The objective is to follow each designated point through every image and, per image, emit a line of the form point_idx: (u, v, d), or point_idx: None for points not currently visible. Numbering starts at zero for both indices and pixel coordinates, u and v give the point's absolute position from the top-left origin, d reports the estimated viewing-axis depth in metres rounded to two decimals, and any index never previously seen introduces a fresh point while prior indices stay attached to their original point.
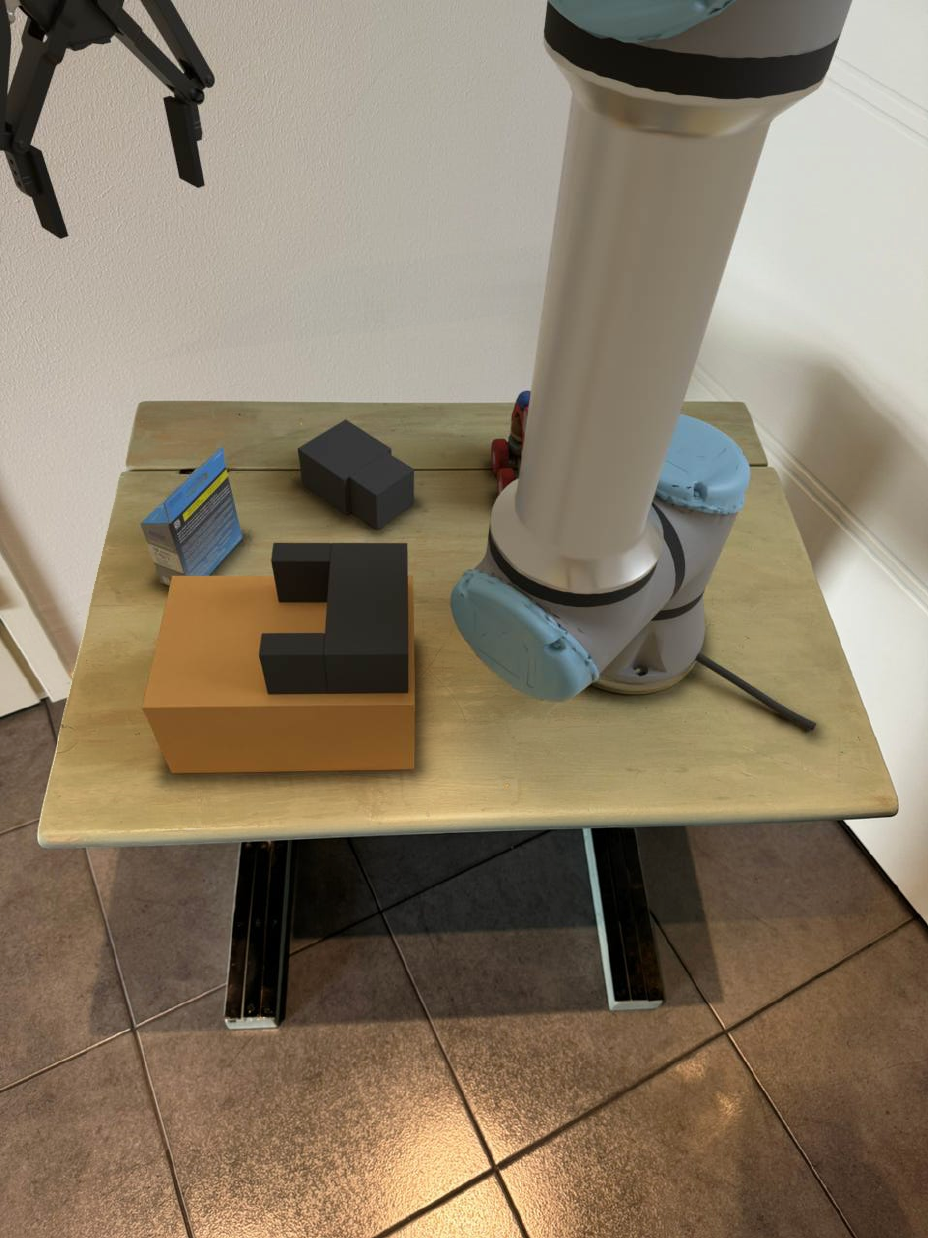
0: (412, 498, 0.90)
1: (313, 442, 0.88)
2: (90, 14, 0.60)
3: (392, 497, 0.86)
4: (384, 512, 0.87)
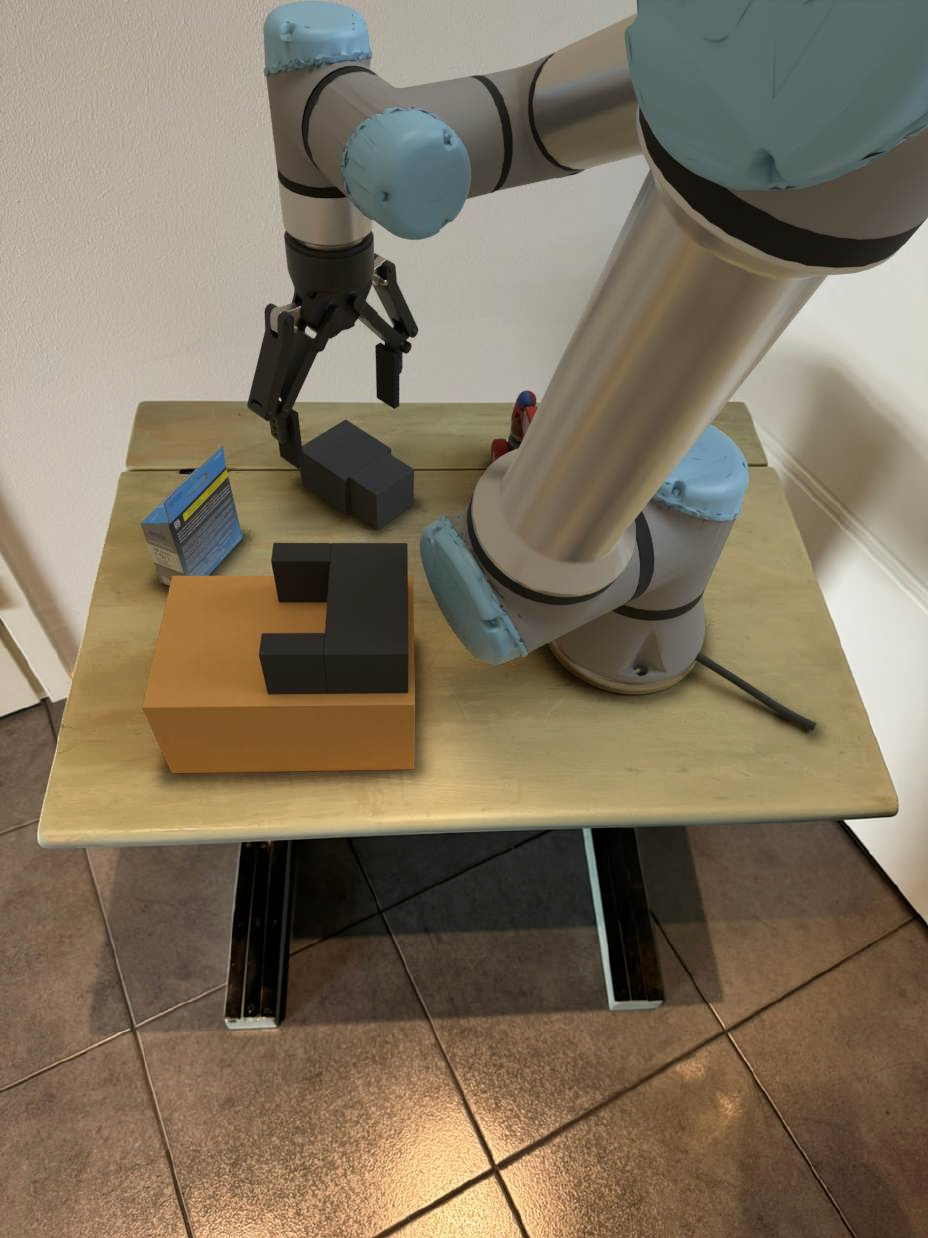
0: (412, 498, 0.90)
1: (313, 442, 0.88)
2: (345, 312, 0.76)
3: (392, 497, 0.86)
4: (384, 512, 0.87)
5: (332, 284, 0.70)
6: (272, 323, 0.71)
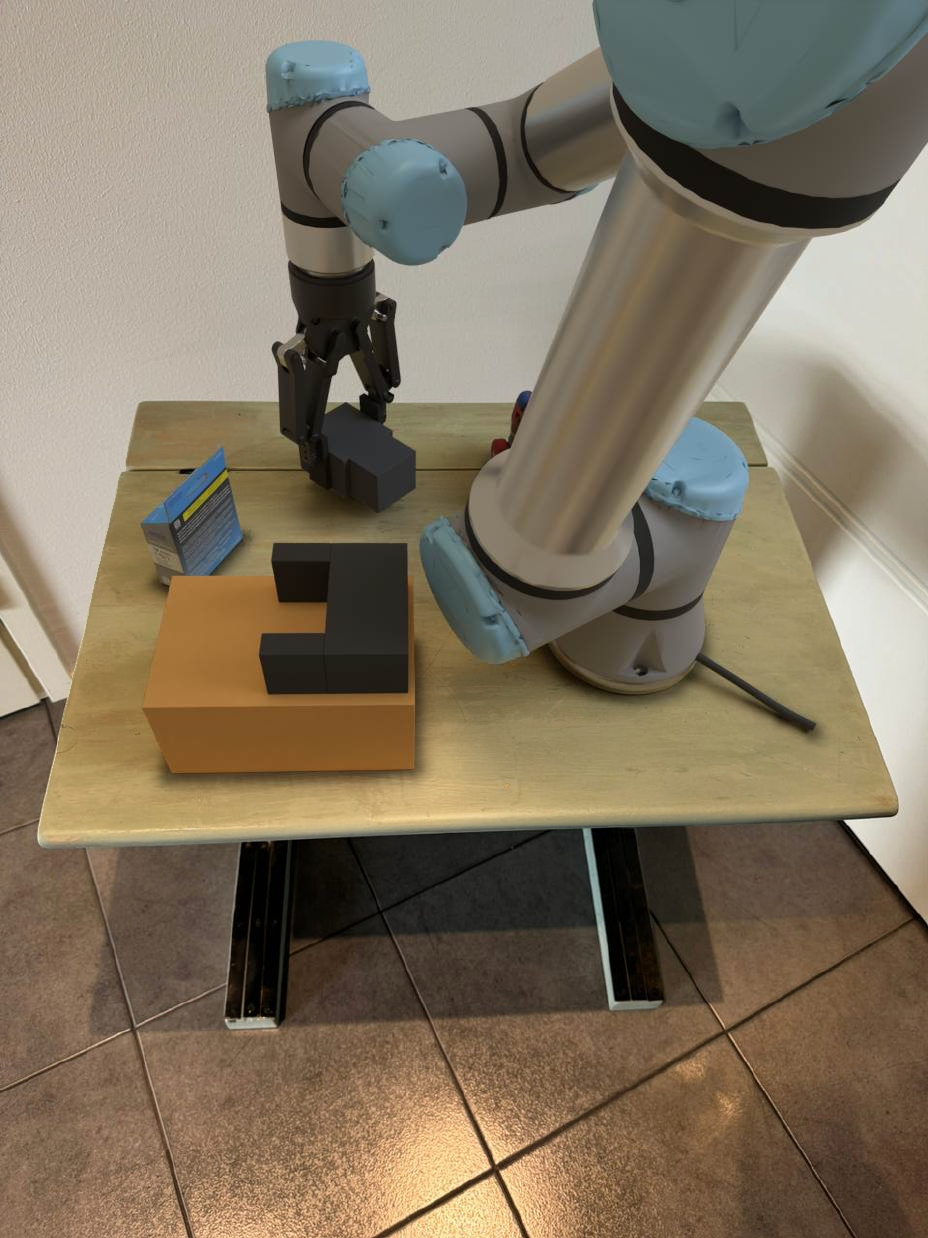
0: (414, 482, 0.87)
1: None
2: (348, 337, 0.77)
3: (393, 480, 0.84)
4: (385, 495, 0.84)
5: (334, 311, 0.72)
6: (281, 361, 0.74)
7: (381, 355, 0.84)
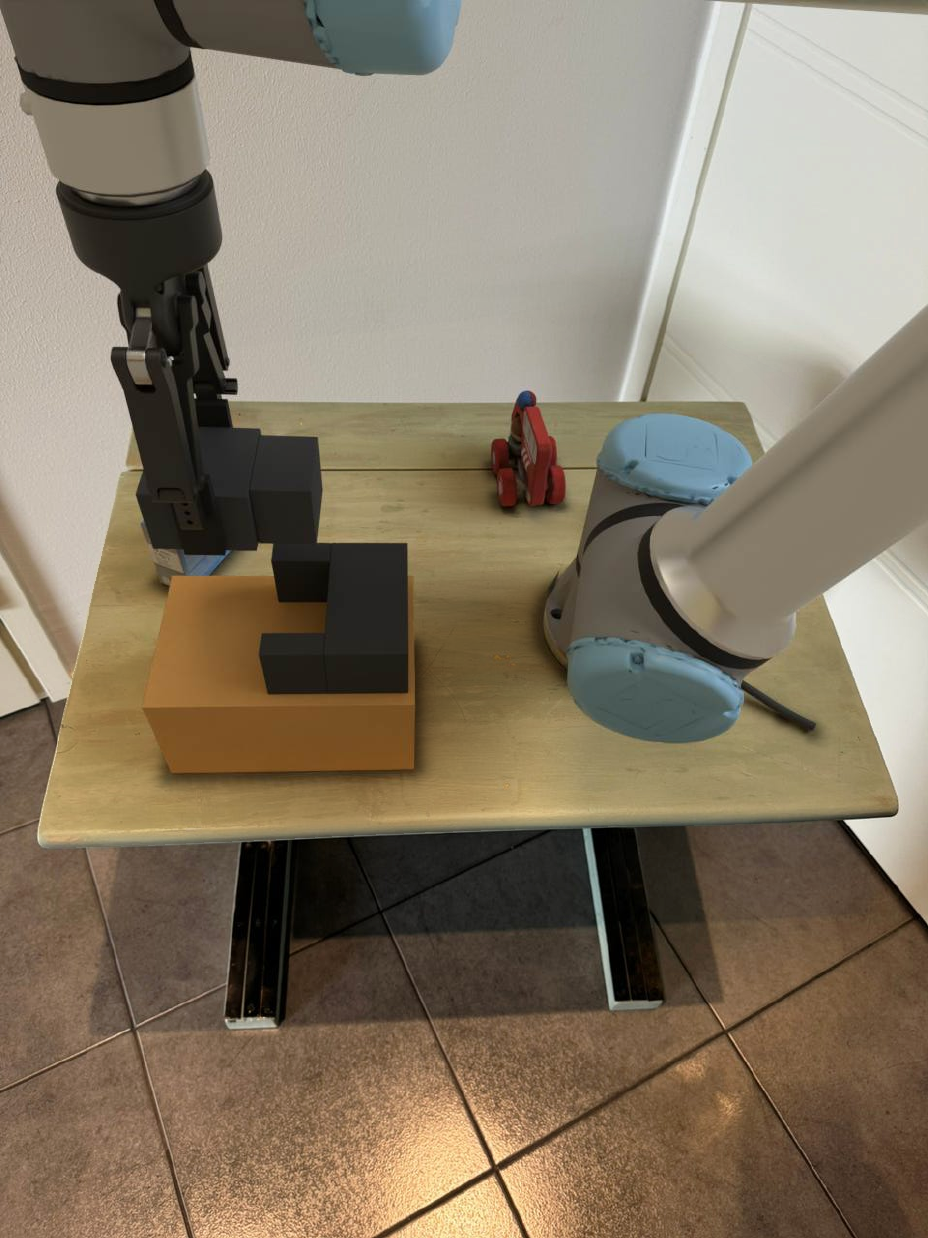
0: (321, 482, 0.60)
1: None
2: None
3: (316, 488, 0.57)
4: (316, 515, 0.57)
5: (193, 255, 0.42)
6: (137, 377, 0.43)
7: None
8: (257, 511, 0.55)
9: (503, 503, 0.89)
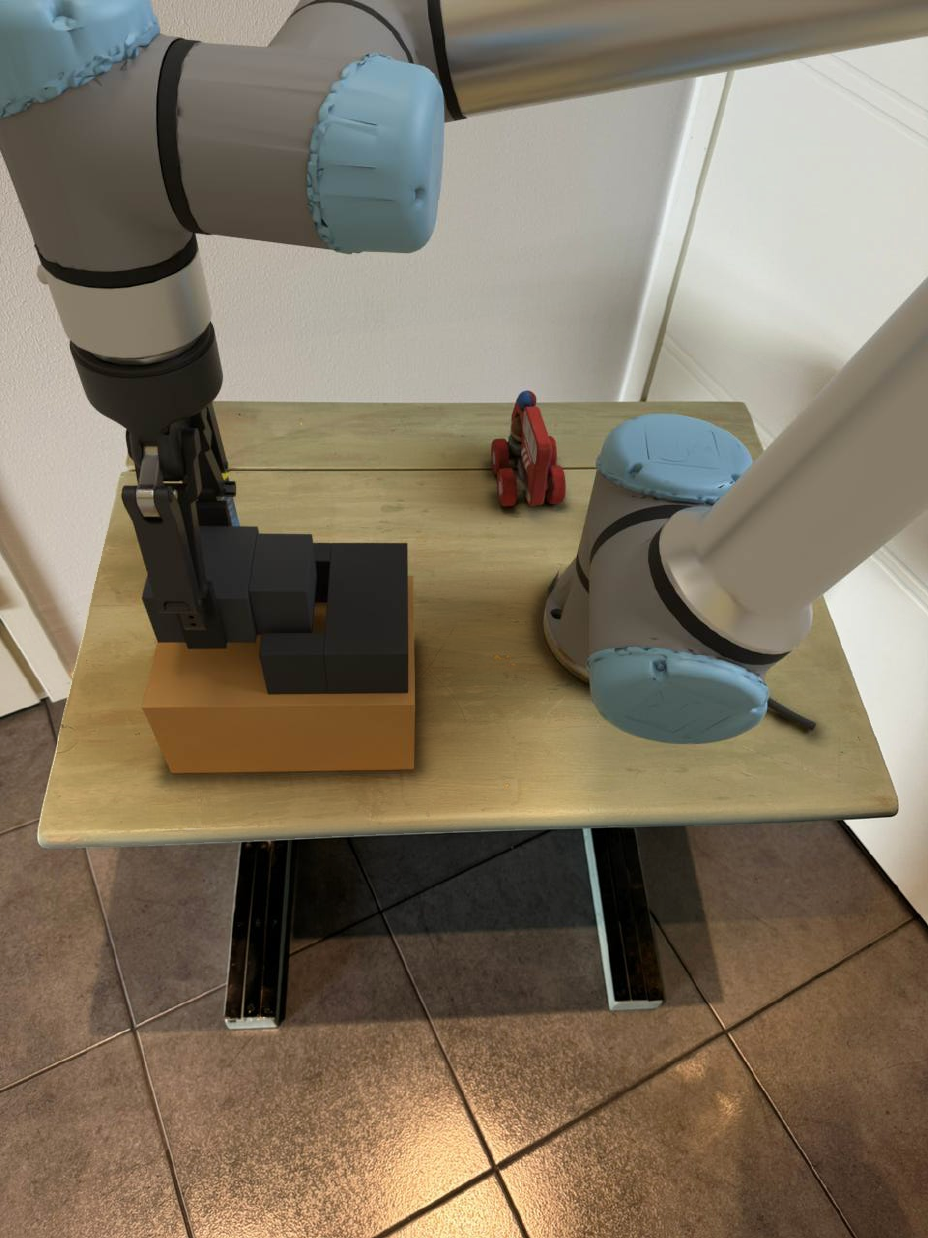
0: None
1: None
2: None
3: (311, 584, 0.60)
4: (311, 609, 0.61)
5: (197, 401, 0.45)
6: (146, 511, 0.46)
7: None
8: (256, 608, 0.59)
9: (503, 503, 0.89)
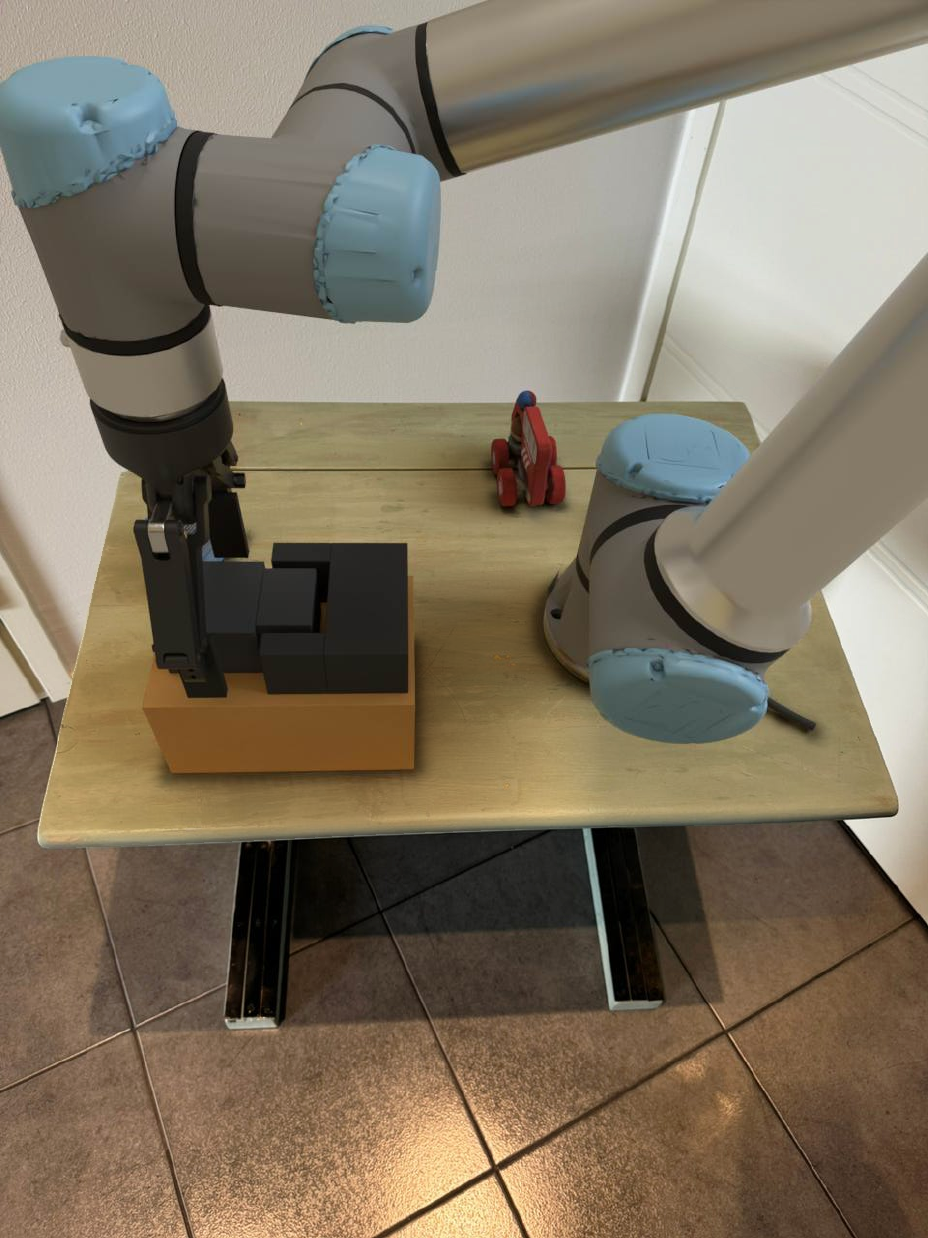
0: None
1: None
2: None
3: (315, 616, 0.63)
4: None
5: (209, 452, 0.48)
6: (155, 544, 0.48)
7: None
8: None
9: (503, 503, 0.89)
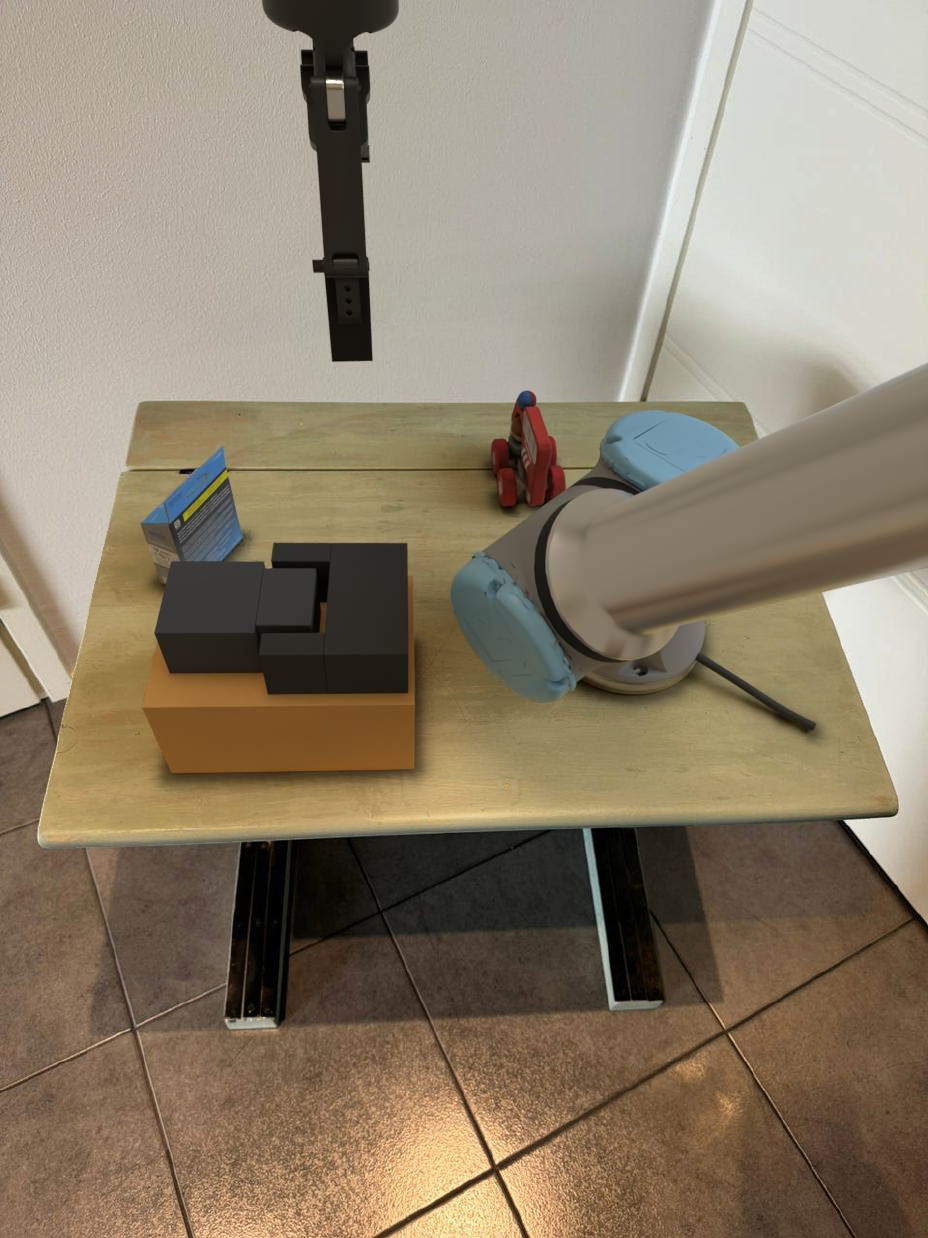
0: None
1: (165, 613, 0.60)
2: None
3: (315, 616, 0.63)
4: None
5: (383, 10, 0.45)
6: (332, 105, 0.44)
7: None
8: None
9: (503, 503, 0.89)
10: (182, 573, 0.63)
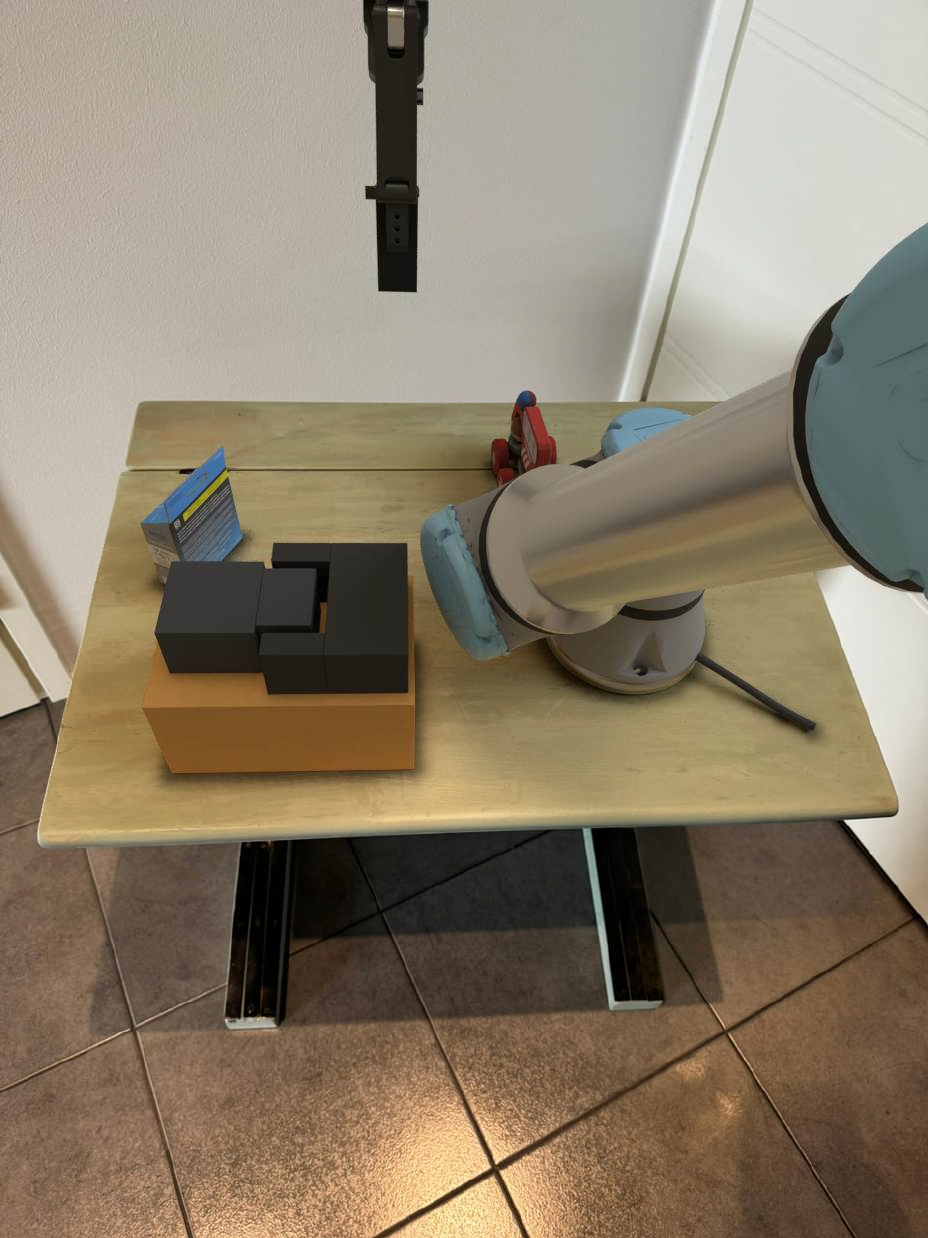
0: None
1: (165, 613, 0.60)
2: None
3: (315, 616, 0.63)
4: None
5: None
6: (392, 32, 0.46)
7: None
8: None
9: None
10: (182, 573, 0.63)
